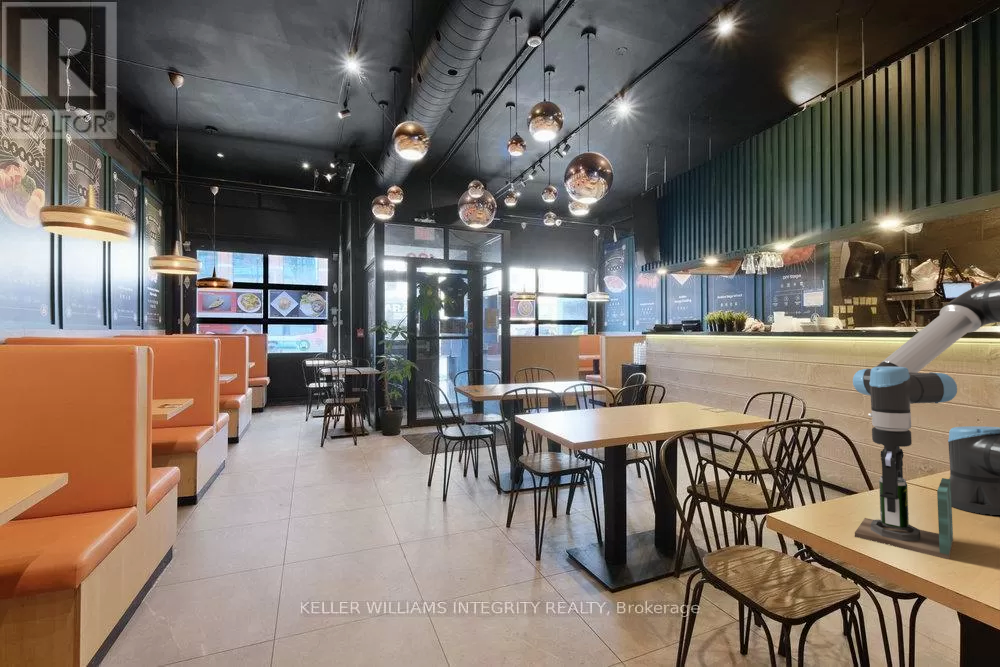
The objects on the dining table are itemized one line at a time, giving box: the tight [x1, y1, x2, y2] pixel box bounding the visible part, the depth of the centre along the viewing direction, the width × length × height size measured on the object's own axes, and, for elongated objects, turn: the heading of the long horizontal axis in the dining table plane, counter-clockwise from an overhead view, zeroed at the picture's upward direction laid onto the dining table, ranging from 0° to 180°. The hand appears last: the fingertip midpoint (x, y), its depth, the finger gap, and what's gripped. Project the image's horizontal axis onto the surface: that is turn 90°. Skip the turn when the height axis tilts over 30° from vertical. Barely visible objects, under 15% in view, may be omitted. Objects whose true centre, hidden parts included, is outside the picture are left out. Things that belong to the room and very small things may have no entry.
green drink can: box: [878, 475, 910, 530], centre depth 114 cm, size 5×5×12 cm
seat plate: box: [854, 477, 954, 560], centre depth 113 cm, size 13×17×15 cm
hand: (894, 520), depth 114 cm, fingers closed on green drink can, 5 cm apart
